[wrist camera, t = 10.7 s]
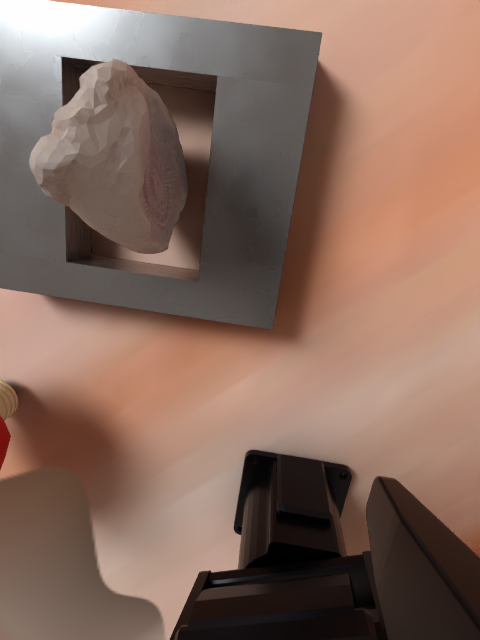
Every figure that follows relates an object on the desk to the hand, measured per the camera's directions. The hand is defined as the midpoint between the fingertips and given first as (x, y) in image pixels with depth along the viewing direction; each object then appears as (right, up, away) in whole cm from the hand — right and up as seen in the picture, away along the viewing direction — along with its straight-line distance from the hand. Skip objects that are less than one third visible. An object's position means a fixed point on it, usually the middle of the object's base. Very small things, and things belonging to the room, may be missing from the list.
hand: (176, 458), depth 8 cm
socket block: (-3, +10, +10) cm, 15 cm away
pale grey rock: (-2, +10, +10) cm, 15 cm away
